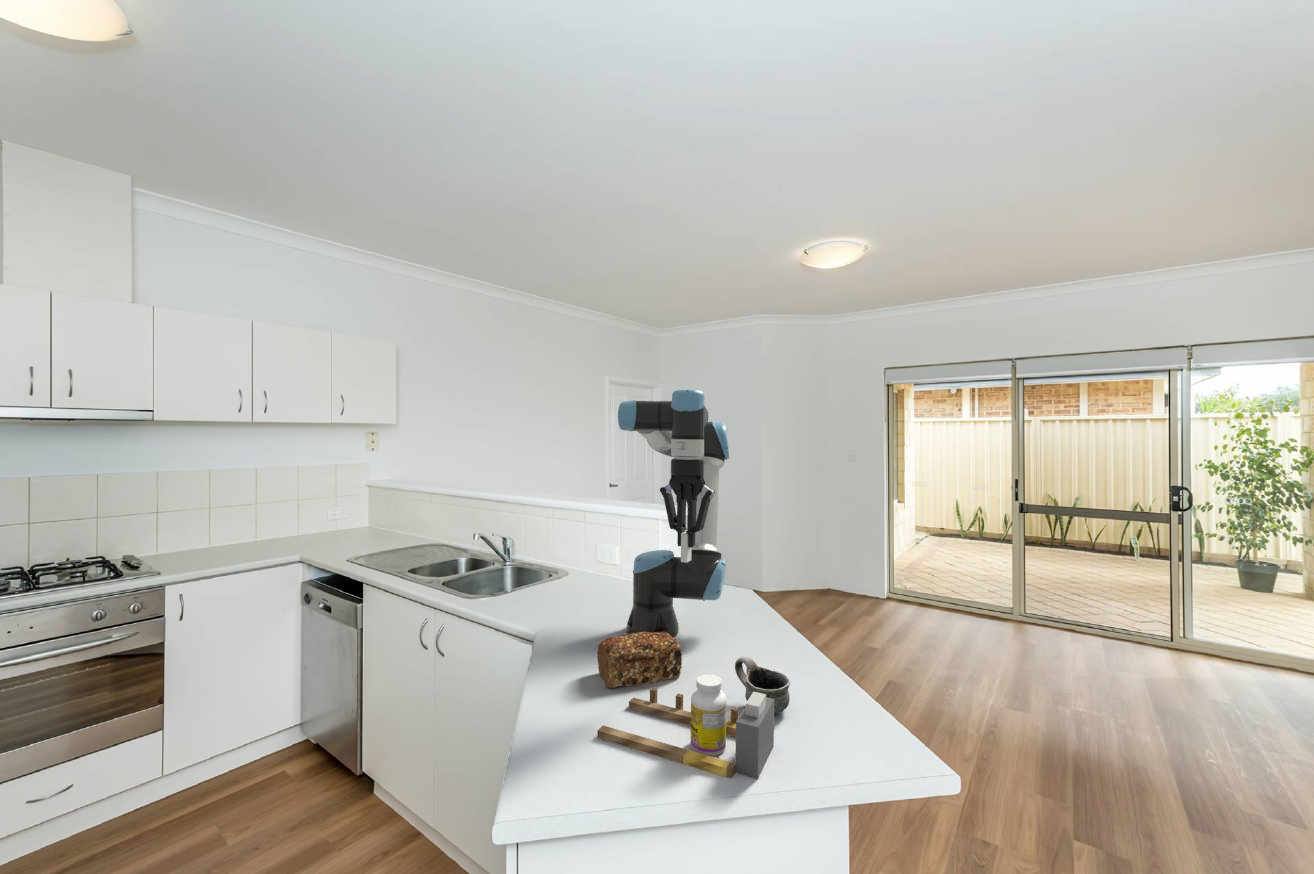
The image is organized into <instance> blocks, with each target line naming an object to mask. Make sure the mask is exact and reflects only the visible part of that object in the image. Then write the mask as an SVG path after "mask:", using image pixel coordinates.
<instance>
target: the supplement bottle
mask: <svg viewBox="0 0 1314 874" xmlns="http://www.w3.org/2000/svg"><path fill="white" fill-rule="evenodd" d="M722 683H723V682H722V679H721V677H719V676H717V675H715V674H702V675H700V676H698V677H697V678H696V685H695V687H696V688H697V689H695V690H694V691H693V692H692V694H691V697H690V698H691V699H690V712H691V725H690V747H691V749H692V751H694V752H698V753H701V754H705V755H708V756H712V757H716V756H719V755H721V754H722V753H723V752H724V751H725V750H726V747H727V735H726V720H727V706H728V705H727V696H726V694H725V693H724V691H722V685H723V684H722Z"/></svg>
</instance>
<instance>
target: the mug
mask: <svg viewBox="0 0 1314 874" xmlns="http://www.w3.org/2000/svg"><path fill="white" fill-rule="evenodd" d="M743 664H744V665H745V667H746V669H745V671H746V672H745V671H744V667H743ZM734 671H735V674H736V676H737V677H738V680H739V681H740V682H741V683H742V685H743V686H744V687H745V700H746V702H747V701H748V699H749V698H750V696H751V695H752V693H753V692H758V693H762V694H766V697H768V698H772V699H774V716H776V715H779V714H781V713H783V712H784V711H785V710H786V709H787V708H788V707H789V704H790V696H791V695H790V692H789V687H790V685H791V680H790V679H791V678H790V677H789V676H787V675H786V674H785V673H782V672H780V671H777V670H772V669H769V668H767V667H761V666H759V665H757V663H756V661H755V660H754V659H753V658H751V657H750V656H747V655H743V656H740V657H738V658H737V659H736V660H735V664H734Z"/></svg>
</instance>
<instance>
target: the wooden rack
mask: <svg viewBox="0 0 1314 874" xmlns="http://www.w3.org/2000/svg"><path fill="white" fill-rule="evenodd" d="M628 709H629V710H633V711H637V712H641V713H644V714H649V715H652V716H656V717H659V718H663V719H667V720H670V721H674V722H679V723H682V724H686V725H689V726H691V711H688V710H684V694H681V693H677V694H676V695H675V707H672V706H668V705H664V704H661V703H658V688H657V687H654V686H653V687H651V688H650V689H649V700H645V699H641V698H637V697H632V698H631V699H630V700H628ZM738 718H739V707H735V706H732V707H731V708H730V720H727V719H726V736H731V737H734V738H736V721H737V719H738ZM596 731H597V736H596V737H597V739H600V740H603V741H605V742H609V743H613V744H616V745H619V746H623V747H627V748H629V749H633V750H635V751H639V752H642V753H646V754H648V755H652V756H655V757H659V758H661V759H666V760H669V761H673V762H676V763H679V764H683V766H688V767H691V768H694V769H697V770H701V771H704V772H707V773H711V774H713V775H718V776H721V777H723V778H729V779H733V777H734V776H735V774H736V773H735V764H734V762H731V761H728V760H726V759H721V758H718V757H716V756H708V755H705V754H701V753H698V752H695V751H694V750H691V749H686V748H683V747H680V746H677V745H673V744H669V743H666V742H662V741H659V740H655V739H652V738H648V737H644V736H641V735H638V734H634V733H632V732H627V731H625V730H624V731H623V730H620V729H617V728H614V727H610V726H607V725H602V726H600V727H599V729H597V730H596Z"/></svg>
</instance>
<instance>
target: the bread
mask: <svg viewBox="0 0 1314 874" xmlns="http://www.w3.org/2000/svg"><path fill="white" fill-rule="evenodd" d="M596 653H597V656H596V657H597V665H598V666H597V667H598V673H599V675H600V677H601V680H602V681H603V684H604V685H605V686H606V687H607V688H608V689H609V688H610V689H611V688H612V689H616V688H617V687H632V686H638V685H639V686H640V685H646V684H654V683H659V682H661V681H665V680H666V681H667V680H669V679H670V680H673V679H674V680H675V679H678V678H680V676H681V671H682V668H683V667H682V665H683V663H682V661H683V657H682V656H683V653H682V647H681V644H680V643H679V642H677V639H676V638H675V637H672V636H670V635H669V634H668V633H667V632H662V633H657V632H655V633H650V632H639V633H631V634H628V633H625V634H622V635H619V636H616V635H615V636H614V635H612V636H608V637H606V638H604V639H602V640H601V641H599V643H598V645H597V652H596Z"/></svg>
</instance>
